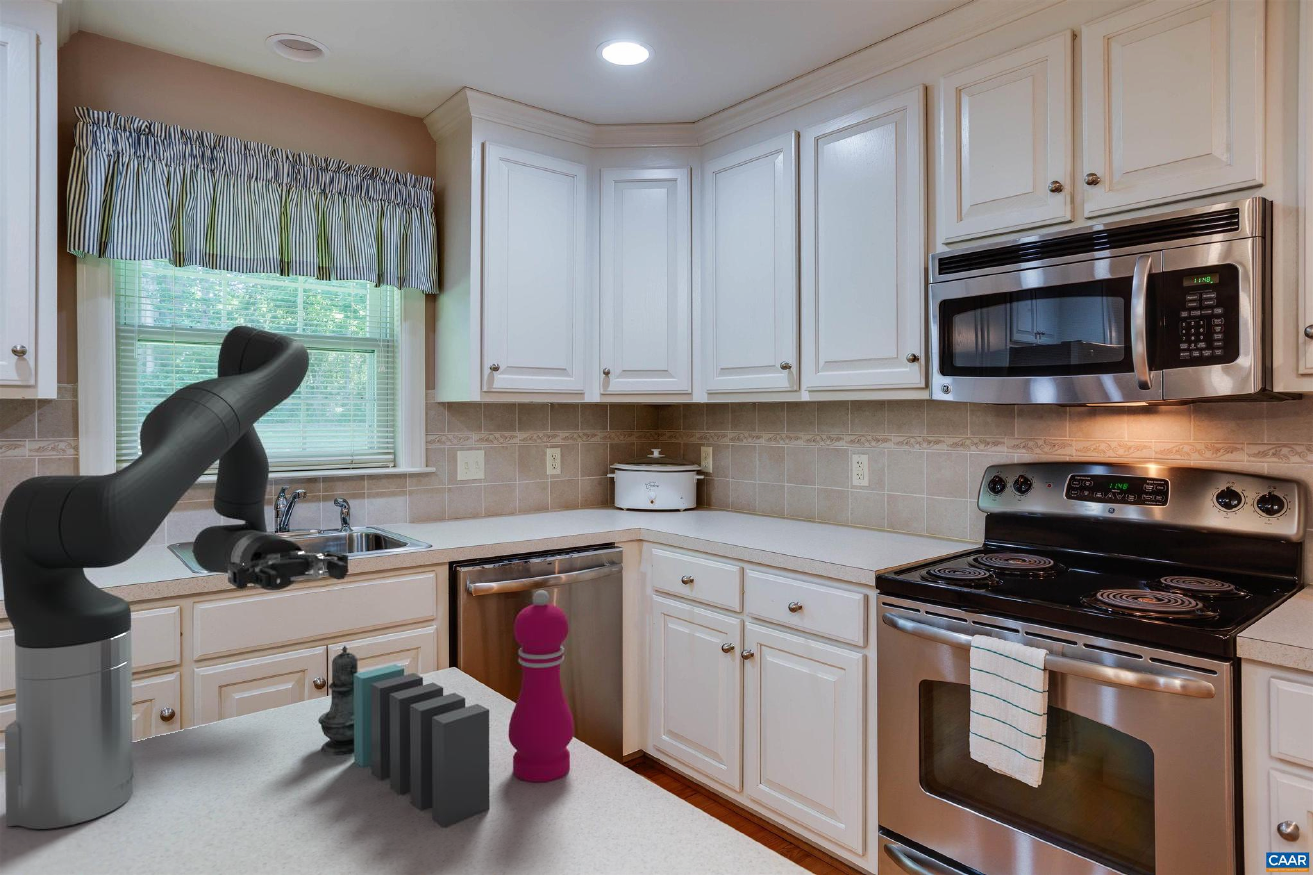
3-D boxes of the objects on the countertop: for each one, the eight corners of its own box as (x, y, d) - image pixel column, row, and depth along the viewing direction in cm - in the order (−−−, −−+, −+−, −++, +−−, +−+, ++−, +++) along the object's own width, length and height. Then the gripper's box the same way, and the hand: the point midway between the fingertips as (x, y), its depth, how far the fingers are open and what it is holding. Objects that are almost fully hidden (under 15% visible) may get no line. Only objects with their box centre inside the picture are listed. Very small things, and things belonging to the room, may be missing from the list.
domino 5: (432, 819, 73) (432, 717, 73) (477, 801, 76) (477, 703, 76) (444, 828, 71) (443, 723, 71) (489, 809, 75) (489, 709, 75)
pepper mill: (587, 765, 85) (587, 588, 84) (545, 791, 78) (544, 600, 78) (538, 750, 88) (538, 581, 88) (494, 774, 82) (494, 592, 82)
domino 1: (354, 761, 86) (353, 674, 85) (395, 748, 89) (395, 664, 89) (362, 767, 84) (362, 678, 84) (404, 753, 88) (404, 668, 87)
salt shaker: (335, 760, 86) (334, 656, 86) (308, 747, 89) (308, 647, 89) (381, 743, 90) (380, 644, 90) (354, 731, 94) (353, 636, 94)
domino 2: (371, 774, 82) (371, 683, 82) (414, 759, 86) (413, 672, 86) (380, 780, 81) (379, 688, 81) (423, 765, 84) (422, 677, 84)
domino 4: (410, 803, 76) (410, 705, 76) (454, 786, 80) (454, 692, 79) (421, 810, 74) (420, 710, 74) (465, 793, 78) (465, 697, 78)
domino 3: (390, 788, 79) (389, 693, 79) (433, 772, 83) (433, 682, 83) (399, 795, 78) (399, 699, 78) (443, 779, 81) (443, 687, 81)
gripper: (211, 539, 104) (249, 554, 92) (317, 529, 114) (363, 541, 102) (212, 593, 104) (250, 615, 92) (317, 578, 114) (363, 595, 102)
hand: (309, 576), depth 97 cm, fingers open, 8 cm apart
